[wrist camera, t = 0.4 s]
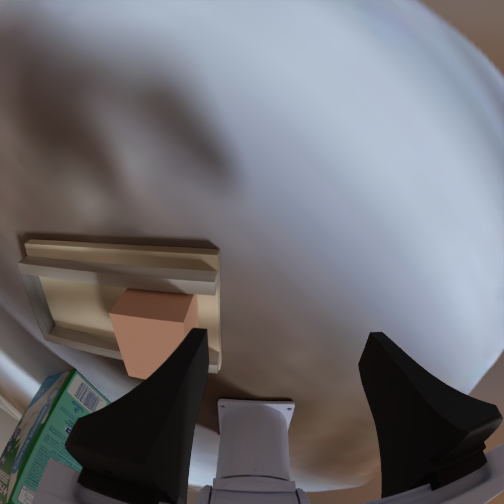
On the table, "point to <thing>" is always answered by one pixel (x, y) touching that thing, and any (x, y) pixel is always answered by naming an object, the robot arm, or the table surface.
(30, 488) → the milk carton
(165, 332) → the block
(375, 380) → the robot arm
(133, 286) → the chute
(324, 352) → the table surface
